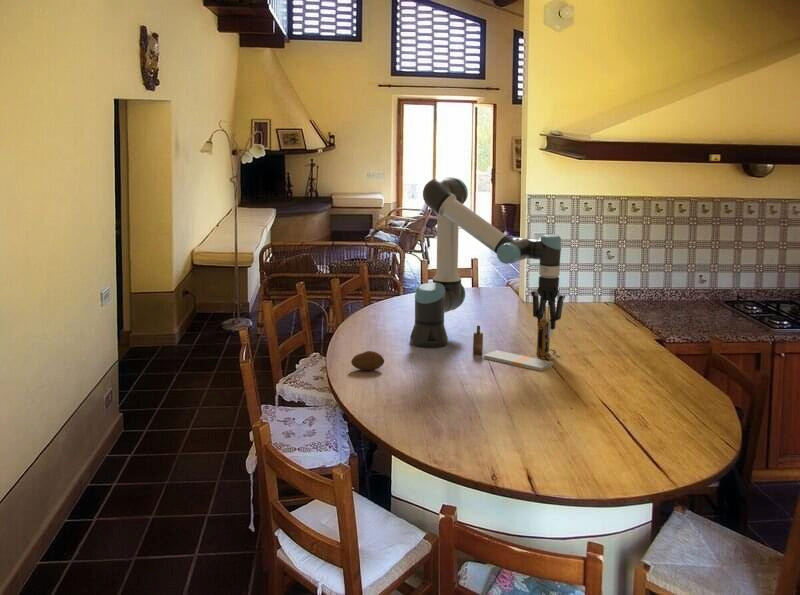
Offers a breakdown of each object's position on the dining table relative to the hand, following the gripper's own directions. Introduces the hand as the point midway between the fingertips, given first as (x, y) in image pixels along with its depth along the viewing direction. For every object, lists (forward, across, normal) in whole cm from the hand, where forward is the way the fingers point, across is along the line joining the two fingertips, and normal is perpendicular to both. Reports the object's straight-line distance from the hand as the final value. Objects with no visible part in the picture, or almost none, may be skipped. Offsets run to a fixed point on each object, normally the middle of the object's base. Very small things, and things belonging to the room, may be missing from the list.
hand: (545, 336), depth 296 cm
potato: (+7, -38, -61) cm, 72 cm away
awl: (+7, -19, -18) cm, 27 cm away
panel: (+7, -2, -17) cm, 18 cm away
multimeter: (+7, +4, -1) cm, 8 cm away
